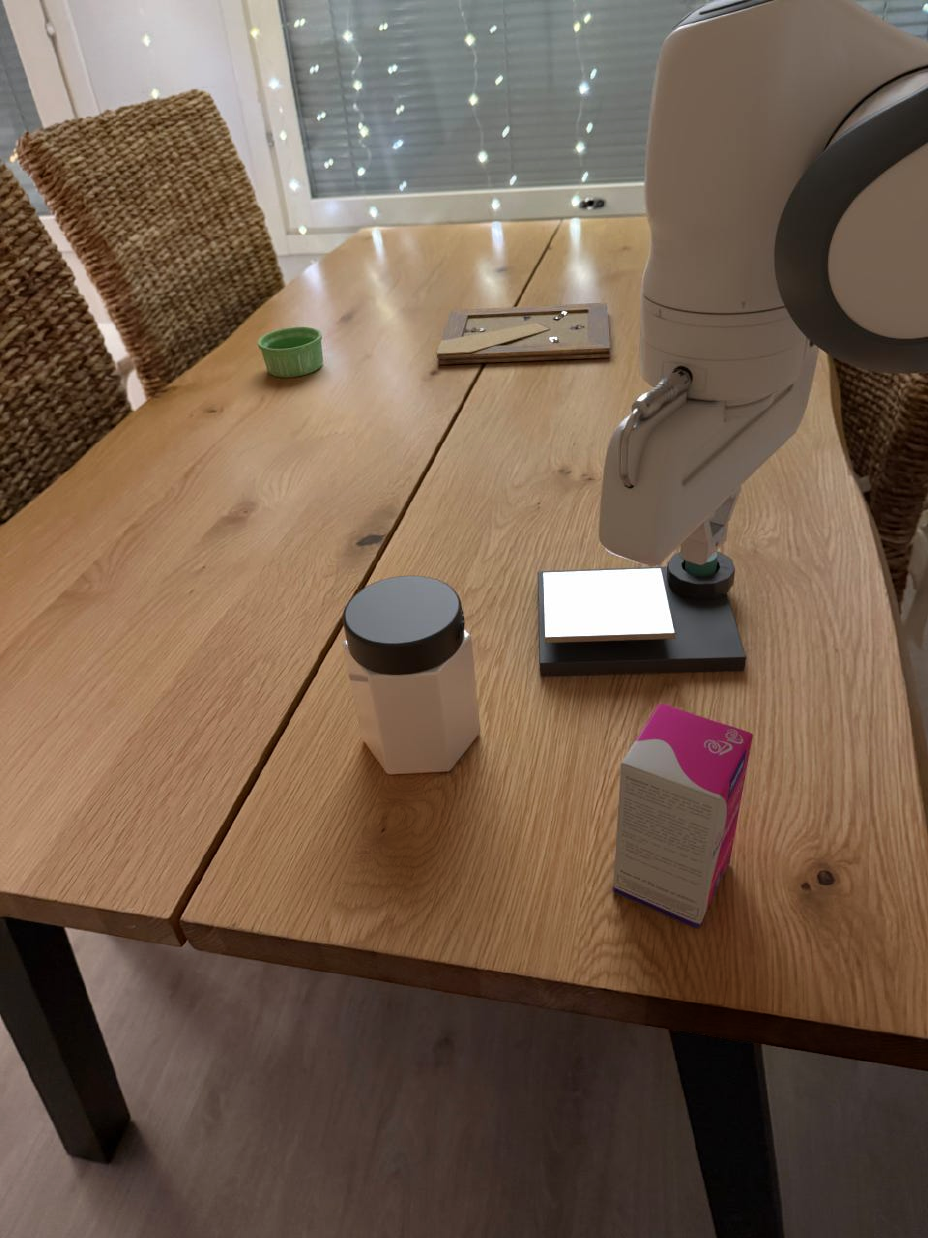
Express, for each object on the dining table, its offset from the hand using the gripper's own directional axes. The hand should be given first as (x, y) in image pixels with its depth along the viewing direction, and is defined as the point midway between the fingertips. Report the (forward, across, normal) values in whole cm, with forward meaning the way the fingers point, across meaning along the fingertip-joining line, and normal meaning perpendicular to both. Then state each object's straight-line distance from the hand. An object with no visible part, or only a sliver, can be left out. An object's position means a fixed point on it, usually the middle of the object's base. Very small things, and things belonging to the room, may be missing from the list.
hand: (702, 552), depth 59 cm
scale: (+15, +8, +10) cm, 20 cm away
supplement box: (+15, -13, -6) cm, 21 cm away
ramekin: (+15, +36, +80) cm, 89 cm away
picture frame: (+15, +60, +57) cm, 84 cm away
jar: (+15, -12, +16) cm, 25 cm away
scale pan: (+12, +6, +11) cm, 17 cm away
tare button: (+13, +15, +7) cm, 21 cm away
